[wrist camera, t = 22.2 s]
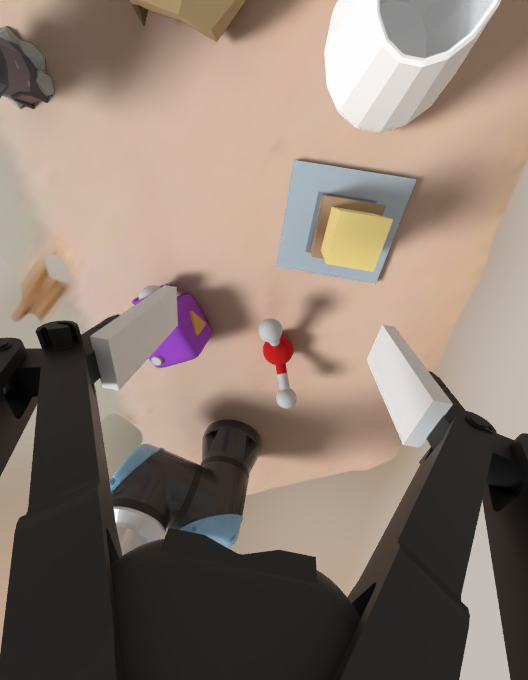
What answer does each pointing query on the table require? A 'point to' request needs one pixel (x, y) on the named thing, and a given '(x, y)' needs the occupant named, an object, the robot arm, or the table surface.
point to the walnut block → (325, 212)
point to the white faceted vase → (397, 55)
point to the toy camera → (180, 332)
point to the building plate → (341, 183)
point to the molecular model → (278, 358)
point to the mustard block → (354, 238)
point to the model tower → (22, 71)
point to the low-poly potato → (193, 13)
